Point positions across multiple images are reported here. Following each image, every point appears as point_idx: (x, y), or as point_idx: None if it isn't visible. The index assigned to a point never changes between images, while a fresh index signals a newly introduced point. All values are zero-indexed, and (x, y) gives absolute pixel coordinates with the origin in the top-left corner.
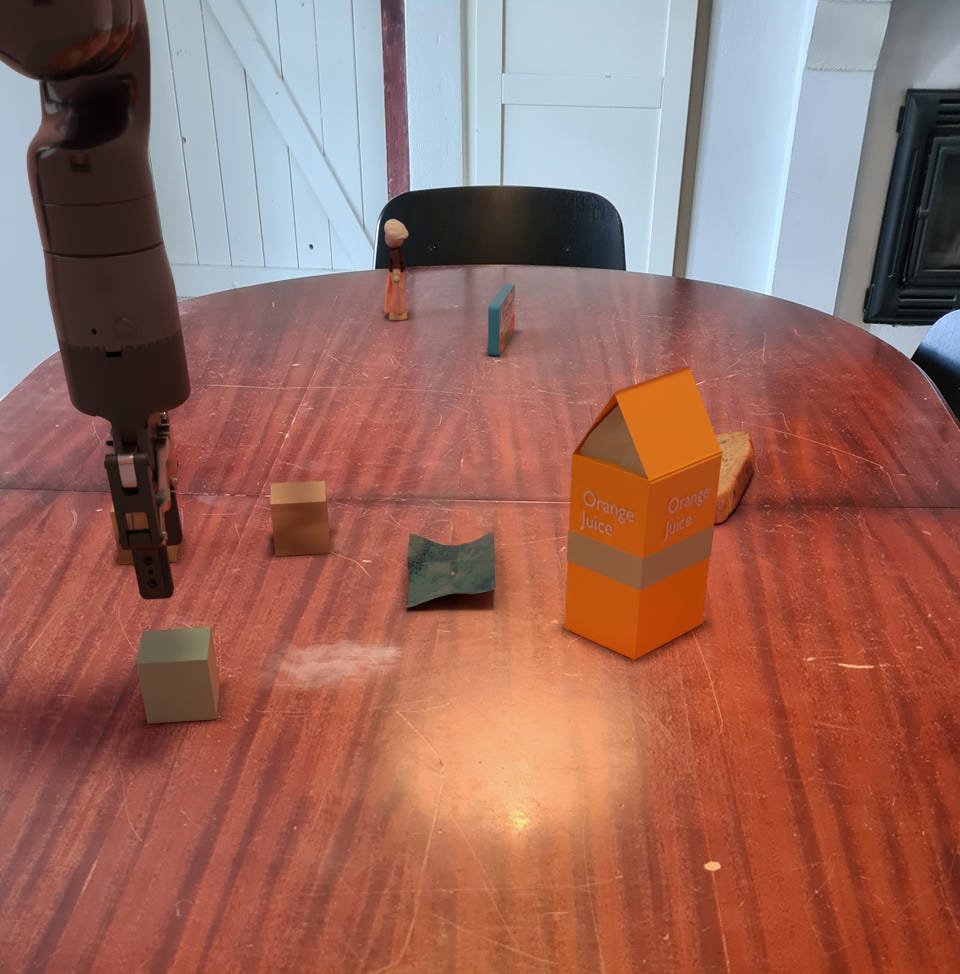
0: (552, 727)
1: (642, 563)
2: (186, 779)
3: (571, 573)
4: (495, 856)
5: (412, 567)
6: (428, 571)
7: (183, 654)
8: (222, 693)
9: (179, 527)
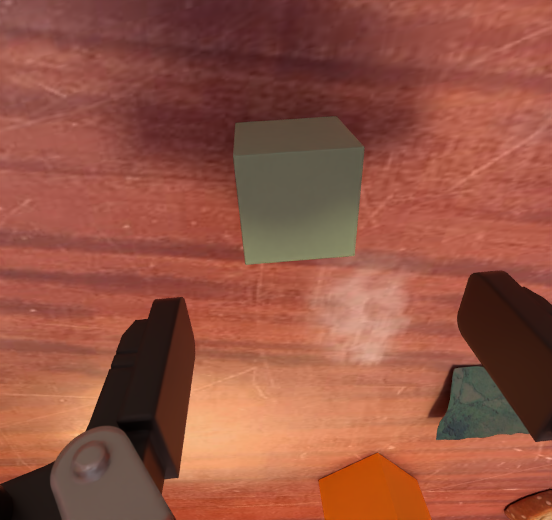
0: (225, 448)
1: None
2: (99, 196)
3: (390, 510)
4: (40, 427)
5: None
6: None
7: (262, 230)
8: None
9: (478, 356)
